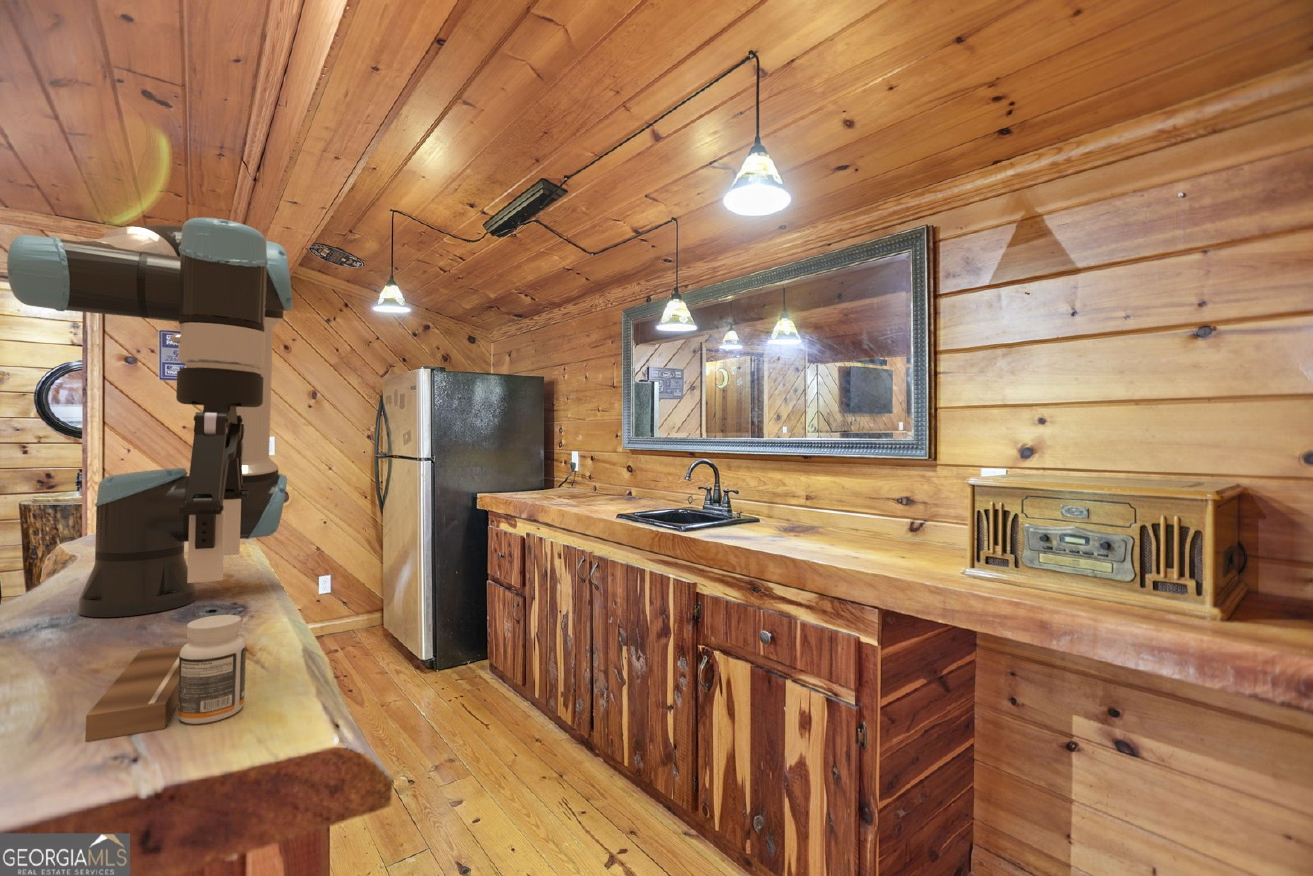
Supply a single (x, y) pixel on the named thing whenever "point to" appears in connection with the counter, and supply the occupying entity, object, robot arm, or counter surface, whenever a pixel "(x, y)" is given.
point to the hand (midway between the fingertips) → (216, 567)
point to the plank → (138, 696)
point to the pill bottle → (211, 670)
